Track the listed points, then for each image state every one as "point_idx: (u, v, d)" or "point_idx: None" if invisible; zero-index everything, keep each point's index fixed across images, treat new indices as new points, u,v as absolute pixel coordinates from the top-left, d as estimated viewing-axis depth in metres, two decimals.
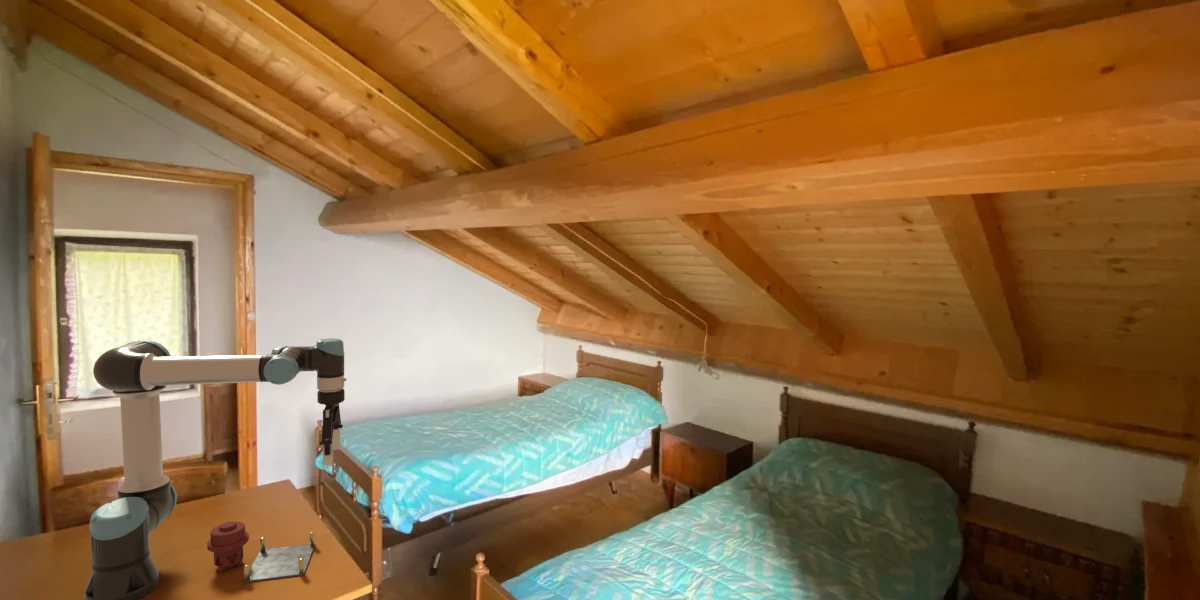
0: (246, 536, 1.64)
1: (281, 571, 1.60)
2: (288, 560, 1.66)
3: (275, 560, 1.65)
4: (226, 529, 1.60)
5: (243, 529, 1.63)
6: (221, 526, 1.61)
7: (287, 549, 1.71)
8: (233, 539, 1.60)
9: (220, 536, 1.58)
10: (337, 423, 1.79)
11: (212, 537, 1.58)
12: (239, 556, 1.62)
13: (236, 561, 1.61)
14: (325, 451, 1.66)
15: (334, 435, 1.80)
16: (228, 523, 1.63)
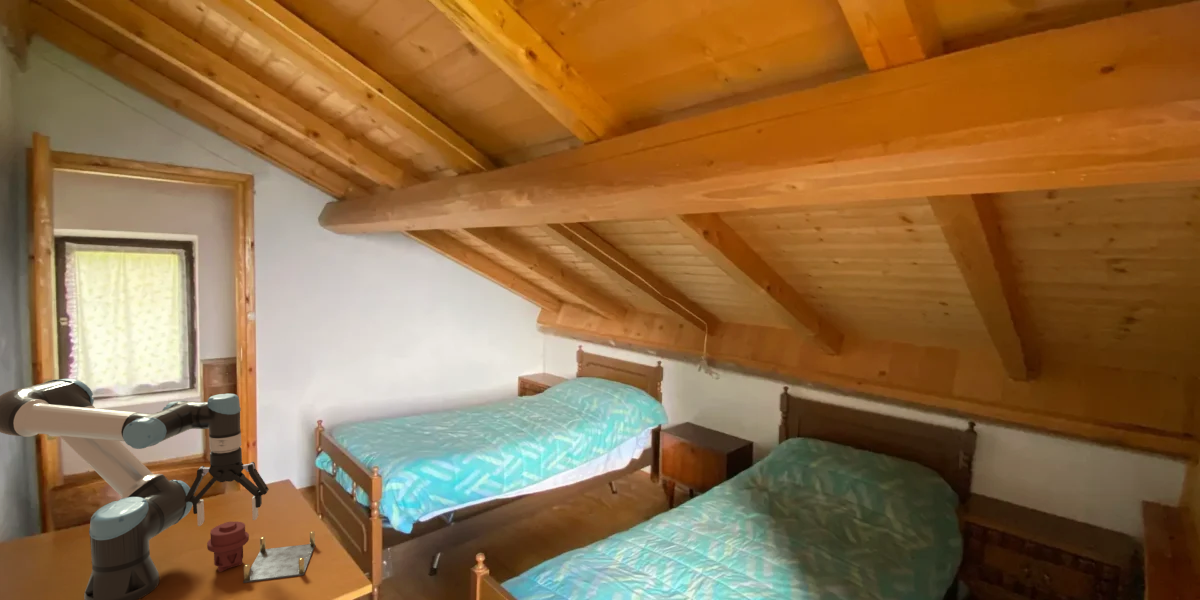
0: (246, 536, 1.64)
1: (281, 571, 1.60)
2: (288, 560, 1.66)
3: (275, 560, 1.65)
4: (226, 529, 1.60)
5: (243, 529, 1.63)
6: (221, 526, 1.61)
7: (287, 549, 1.71)
8: (233, 539, 1.60)
9: (220, 536, 1.58)
10: None
11: (212, 537, 1.58)
12: (239, 556, 1.62)
13: (236, 561, 1.61)
14: None
15: None
16: (228, 523, 1.63)
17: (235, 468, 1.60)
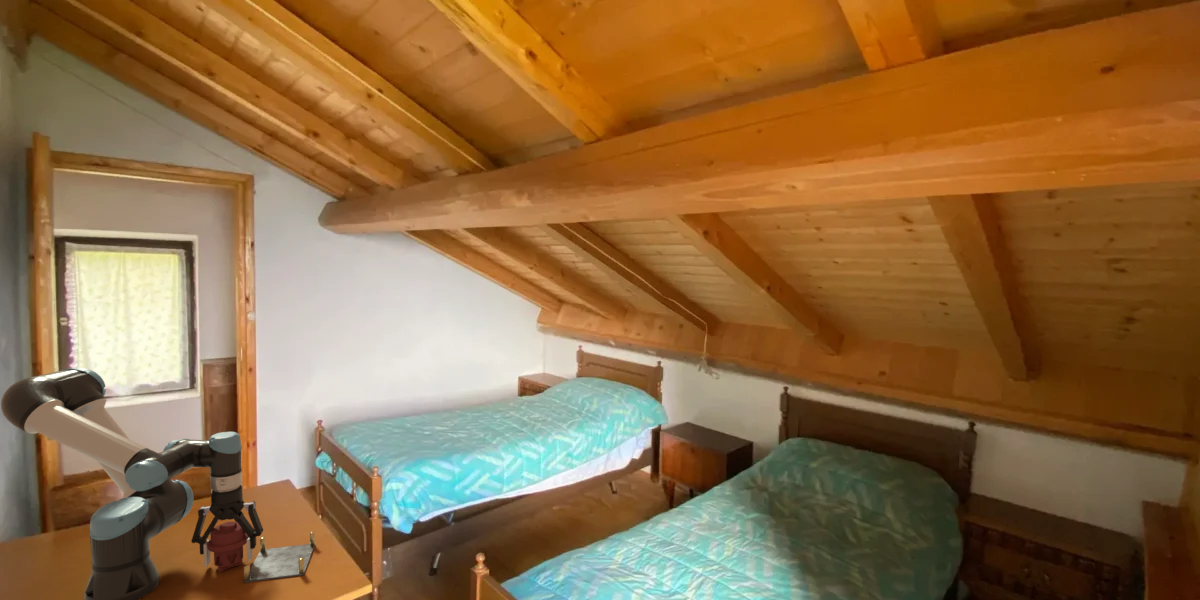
0: (246, 536, 1.64)
1: (281, 571, 1.60)
2: (288, 560, 1.66)
3: (275, 560, 1.65)
4: (226, 529, 1.60)
5: None
6: (221, 526, 1.61)
7: (287, 549, 1.71)
8: (233, 539, 1.60)
9: (220, 536, 1.58)
10: None
11: (212, 537, 1.58)
12: (239, 556, 1.62)
13: (236, 561, 1.61)
14: None
15: None
16: (228, 523, 1.63)
17: (236, 506, 1.61)
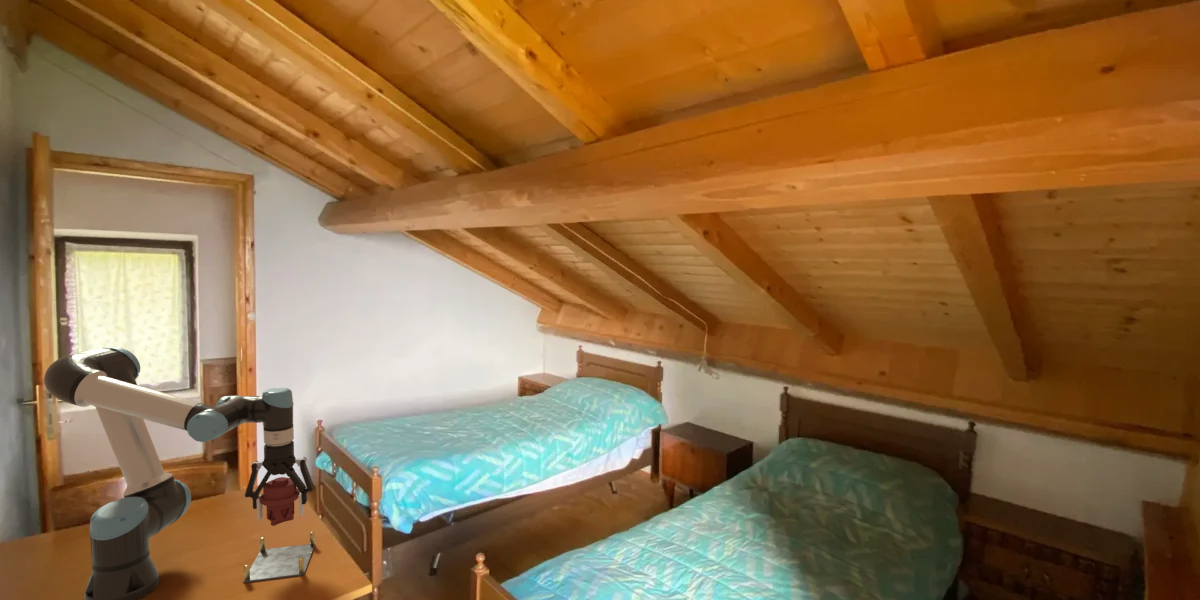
0: (297, 492, 1.65)
1: (281, 571, 1.60)
2: (288, 560, 1.66)
3: (275, 560, 1.65)
4: (279, 483, 1.61)
5: None
6: (273, 481, 1.62)
7: (287, 549, 1.71)
8: (286, 494, 1.61)
9: (274, 490, 1.59)
10: None
11: (266, 491, 1.60)
12: (291, 511, 1.63)
13: (288, 516, 1.62)
14: None
15: None
16: (280, 478, 1.64)
17: (288, 461, 1.62)
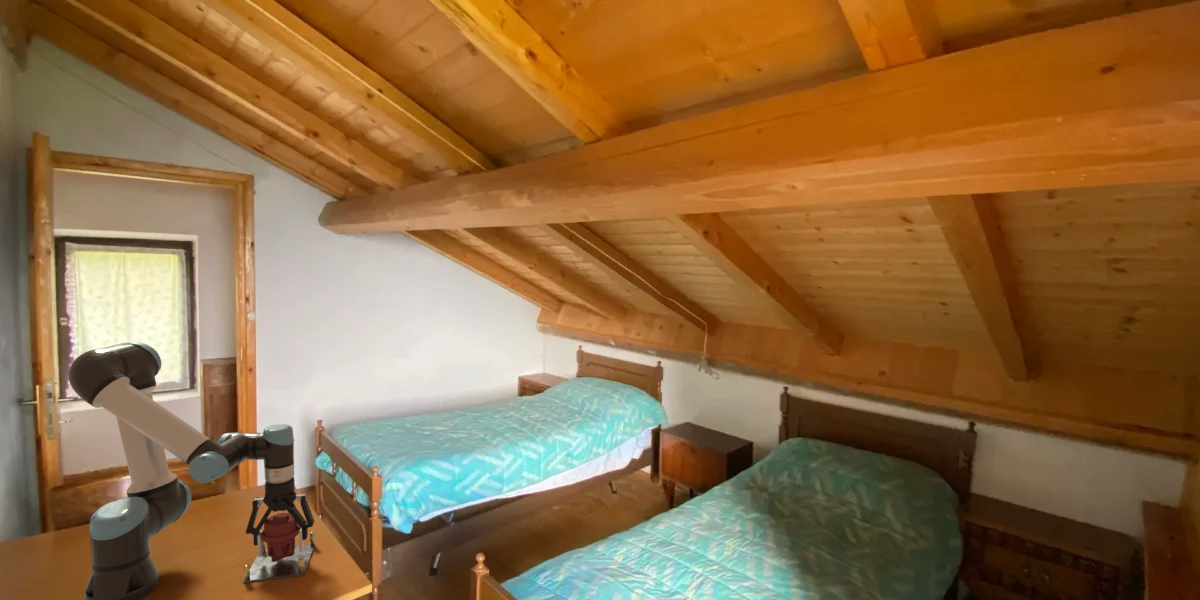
0: (298, 527, 1.66)
1: (281, 571, 1.60)
2: (288, 560, 1.66)
3: None
4: (279, 520, 1.62)
5: None
6: (274, 517, 1.63)
7: None
8: (287, 530, 1.62)
9: (274, 527, 1.60)
10: None
11: (266, 528, 1.60)
12: (292, 547, 1.64)
13: (289, 552, 1.63)
14: None
15: None
16: (281, 514, 1.65)
17: (289, 497, 1.63)
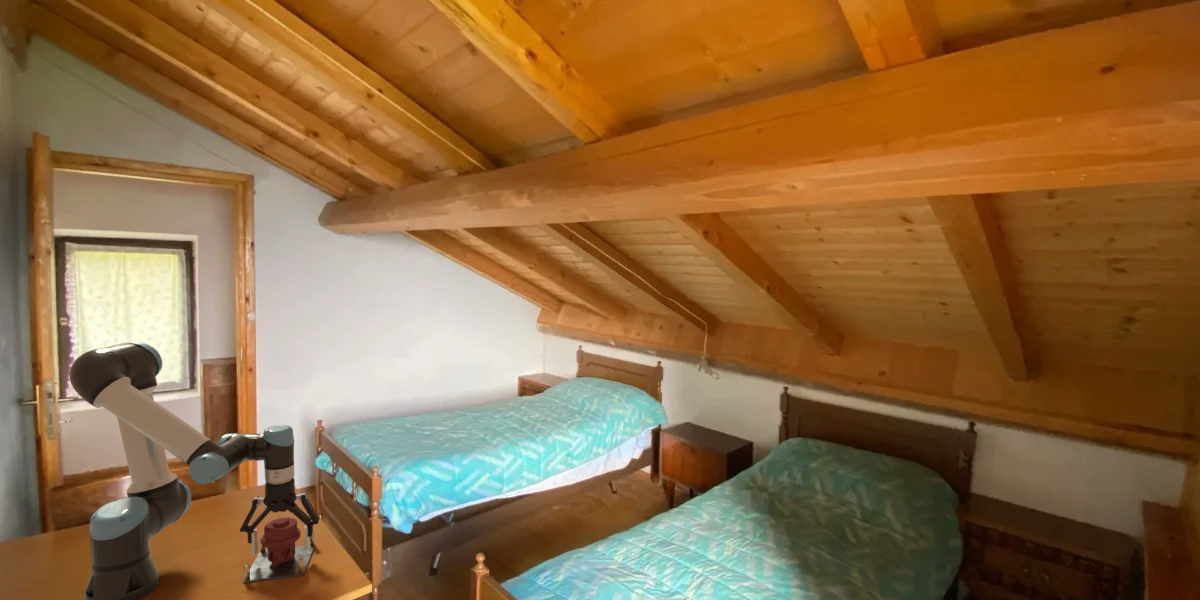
0: (298, 532, 1.66)
1: (281, 571, 1.60)
2: None
3: None
4: (280, 525, 1.62)
5: (295, 525, 1.65)
6: (274, 522, 1.63)
7: None
8: (287, 535, 1.62)
9: (275, 532, 1.60)
10: None
11: (267, 533, 1.61)
12: (292, 551, 1.64)
13: (289, 556, 1.64)
14: None
15: None
16: (281, 519, 1.65)
17: (289, 498, 1.63)
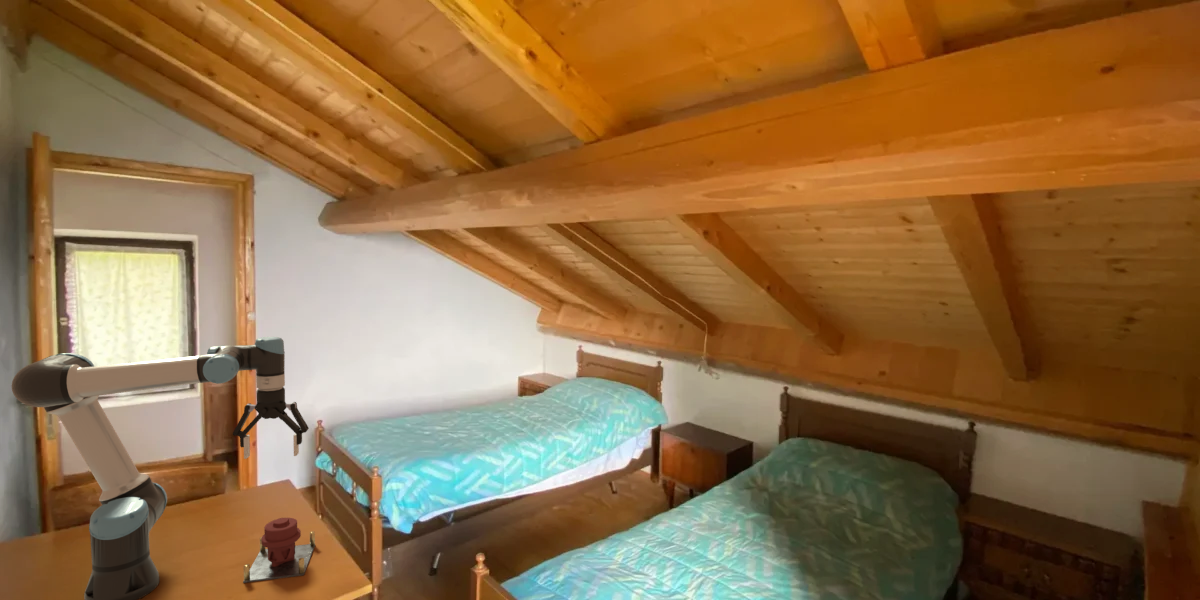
0: (298, 532, 1.66)
1: (281, 571, 1.60)
2: None
3: None
4: (280, 525, 1.62)
5: (296, 525, 1.65)
6: (275, 522, 1.63)
7: None
8: (287, 535, 1.62)
9: (275, 532, 1.60)
10: None
11: (267, 532, 1.61)
12: (292, 552, 1.64)
13: (289, 556, 1.64)
14: None
15: None
16: (281, 519, 1.65)
17: (279, 406, 1.72)
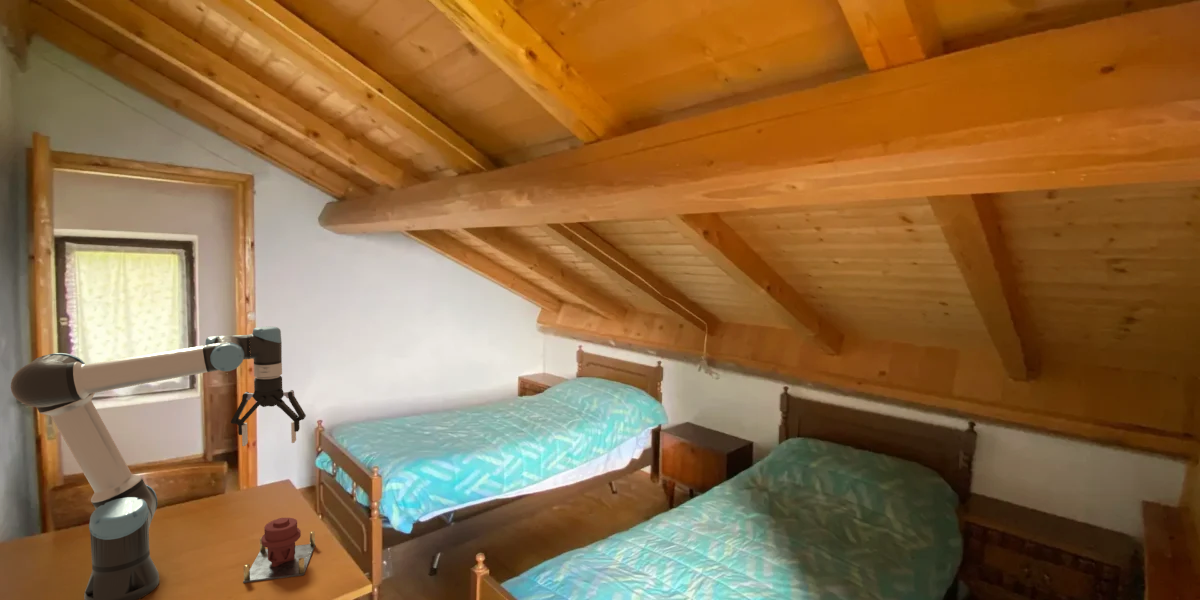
0: (298, 532, 1.66)
1: (281, 571, 1.60)
2: None
3: None
4: (280, 525, 1.62)
5: (296, 525, 1.65)
6: (275, 522, 1.63)
7: None
8: (287, 535, 1.62)
9: (275, 532, 1.60)
10: None
11: (267, 532, 1.61)
12: (292, 552, 1.64)
13: (289, 556, 1.64)
14: None
15: None
16: (281, 519, 1.65)
17: (276, 394, 1.75)
